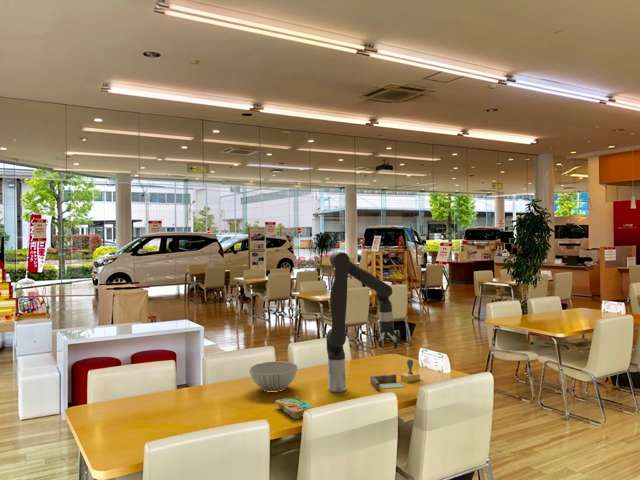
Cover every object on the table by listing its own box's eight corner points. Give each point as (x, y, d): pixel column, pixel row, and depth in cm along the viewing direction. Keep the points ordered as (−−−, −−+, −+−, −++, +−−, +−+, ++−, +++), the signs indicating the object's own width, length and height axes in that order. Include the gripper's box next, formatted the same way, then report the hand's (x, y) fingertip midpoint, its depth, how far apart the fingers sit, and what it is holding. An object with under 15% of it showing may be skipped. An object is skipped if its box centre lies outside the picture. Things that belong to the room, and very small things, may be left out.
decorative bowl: (267, 400, 261) (266, 377, 260) (240, 389, 281) (240, 367, 281) (308, 389, 278) (307, 367, 277) (280, 379, 298) (279, 358, 298)
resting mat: (382, 388, 275) (382, 388, 275) (378, 384, 283) (378, 383, 283) (403, 387, 277) (403, 386, 277) (399, 382, 284) (399, 382, 284)
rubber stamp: (414, 377, 294) (413, 357, 294) (420, 379, 289) (420, 359, 289) (400, 380, 290) (399, 359, 289) (406, 382, 285) (406, 361, 284)
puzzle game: (292, 410, 232) (275, 398, 250) (292, 421, 232) (275, 408, 250) (314, 406, 238) (296, 394, 256) (315, 415, 238) (296, 403, 256)
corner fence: (376, 390, 272) (376, 383, 272) (370, 383, 286) (370, 375, 286) (402, 388, 274) (402, 381, 274) (395, 381, 288) (395, 374, 288)
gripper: (372, 320, 284) (374, 348, 284) (395, 321, 276) (397, 350, 277) (377, 317, 290) (379, 345, 291) (400, 318, 283) (403, 347, 283)
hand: (388, 347), depth 284 cm, fingers open, 8 cm apart
